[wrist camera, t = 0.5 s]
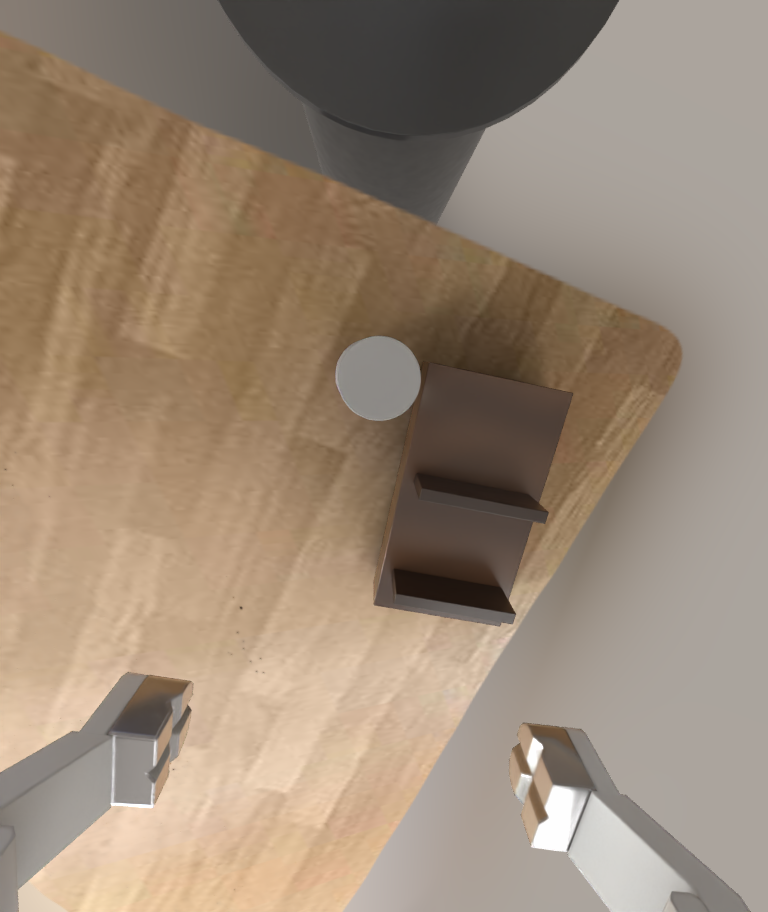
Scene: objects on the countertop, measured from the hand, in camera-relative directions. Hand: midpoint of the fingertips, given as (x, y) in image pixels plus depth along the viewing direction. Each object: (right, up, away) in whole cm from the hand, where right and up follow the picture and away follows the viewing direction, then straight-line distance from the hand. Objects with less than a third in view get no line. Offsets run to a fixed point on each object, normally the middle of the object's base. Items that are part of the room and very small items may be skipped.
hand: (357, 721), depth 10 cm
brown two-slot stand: (+8, +3, +30) cm, 31 cm away
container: (-1, +14, +27) cm, 30 cm away
